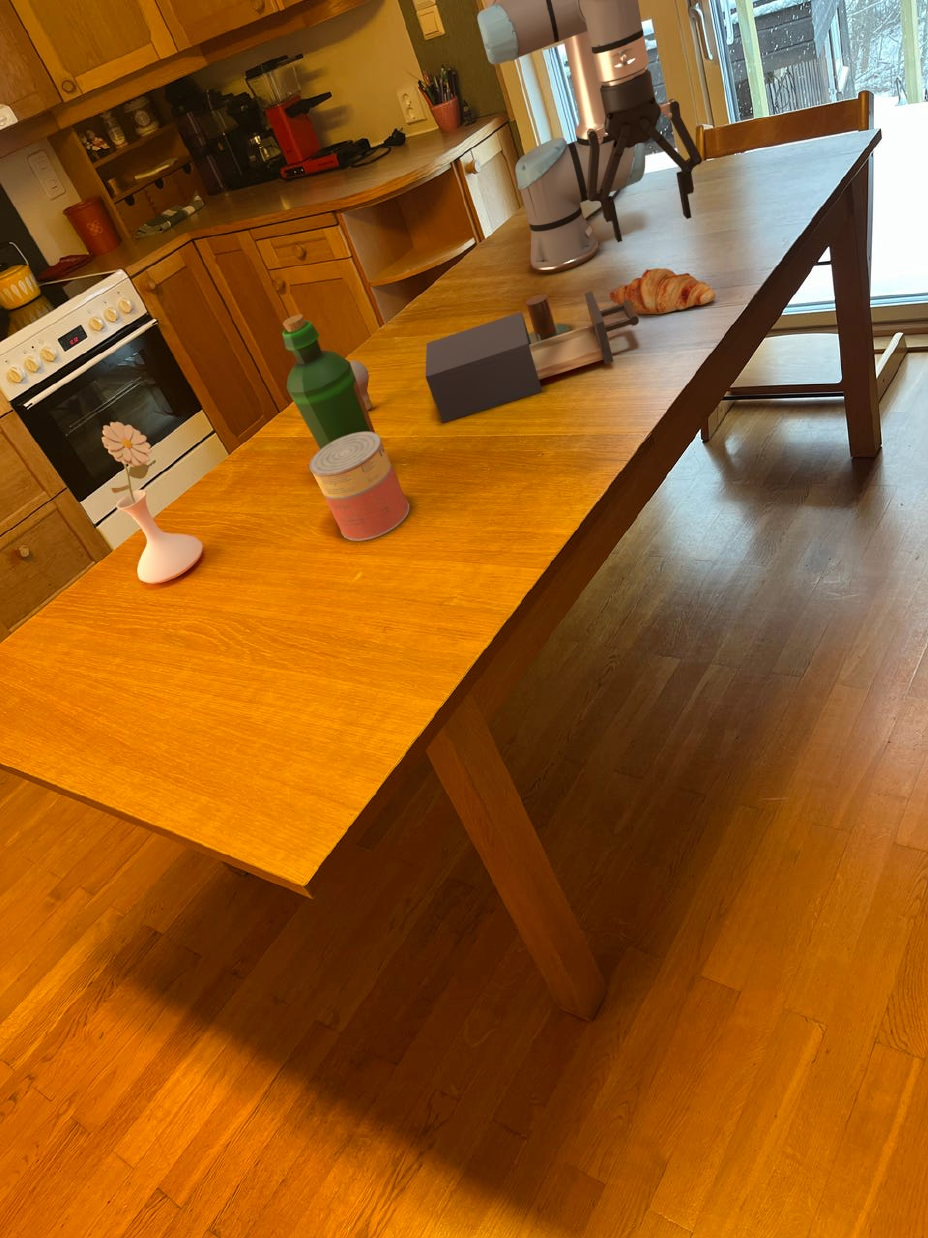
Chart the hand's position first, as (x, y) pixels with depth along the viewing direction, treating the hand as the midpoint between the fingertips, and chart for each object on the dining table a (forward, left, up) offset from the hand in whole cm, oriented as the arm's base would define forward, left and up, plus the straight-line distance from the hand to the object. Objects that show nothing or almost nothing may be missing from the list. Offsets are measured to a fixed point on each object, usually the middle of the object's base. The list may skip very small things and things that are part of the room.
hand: (652, 227), depth 144 cm
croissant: (-12, +1, -18) cm, 22 cm away
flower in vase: (+29, -88, -18) cm, 94 cm away
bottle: (+18, -56, -18) cm, 61 cm away
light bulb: (-8, -57, -18) cm, 60 cm away
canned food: (+33, -53, -18) cm, 65 cm away
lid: (-15, -21, -18) cm, 31 cm away
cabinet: (0, -33, -18) cm, 37 cm away
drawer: (0, -17, -17) cm, 24 cm away
